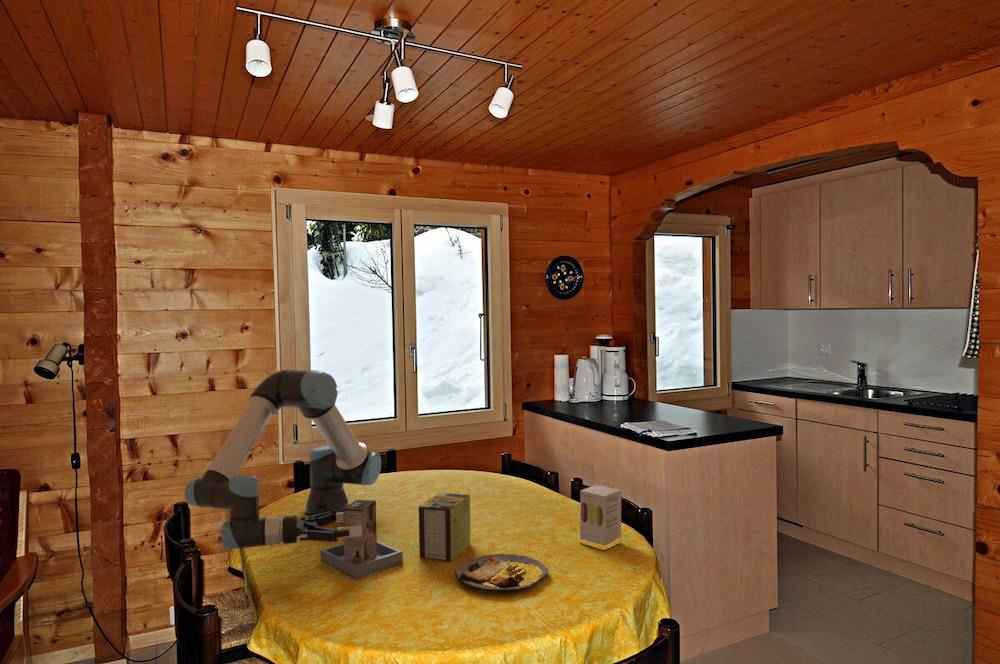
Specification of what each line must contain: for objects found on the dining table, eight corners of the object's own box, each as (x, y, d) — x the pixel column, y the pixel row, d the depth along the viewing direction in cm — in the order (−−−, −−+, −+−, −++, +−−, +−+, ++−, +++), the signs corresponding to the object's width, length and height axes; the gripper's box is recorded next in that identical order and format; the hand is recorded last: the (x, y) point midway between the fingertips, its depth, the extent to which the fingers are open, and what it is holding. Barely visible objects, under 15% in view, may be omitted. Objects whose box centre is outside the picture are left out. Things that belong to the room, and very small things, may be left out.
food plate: (514, 604, 163) (514, 590, 163) (438, 585, 176) (438, 571, 176) (560, 572, 184) (560, 559, 184) (490, 557, 197) (490, 545, 197)
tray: (367, 547, 203) (367, 536, 203) (402, 563, 190) (402, 551, 190) (320, 562, 192) (320, 550, 192) (354, 580, 179) (354, 567, 179)
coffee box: (357, 552, 196) (356, 499, 195) (377, 554, 195) (376, 500, 194) (343, 564, 187) (342, 508, 186) (365, 566, 186) (364, 509, 185)
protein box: (471, 544, 206) (470, 494, 205) (451, 562, 191) (450, 508, 190) (440, 540, 209) (439, 491, 208) (418, 558, 194) (417, 505, 194)
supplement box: (579, 544, 204) (578, 490, 204) (596, 536, 211) (596, 483, 210) (605, 551, 198) (605, 495, 197) (622, 543, 205) (622, 489, 204)
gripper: (284, 529, 197) (358, 522, 203) (279, 559, 173) (362, 551, 178) (284, 504, 197) (357, 498, 202) (279, 531, 173) (362, 523, 178)
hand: (360, 523), depth 190 cm, fingers open, 13 cm apart
